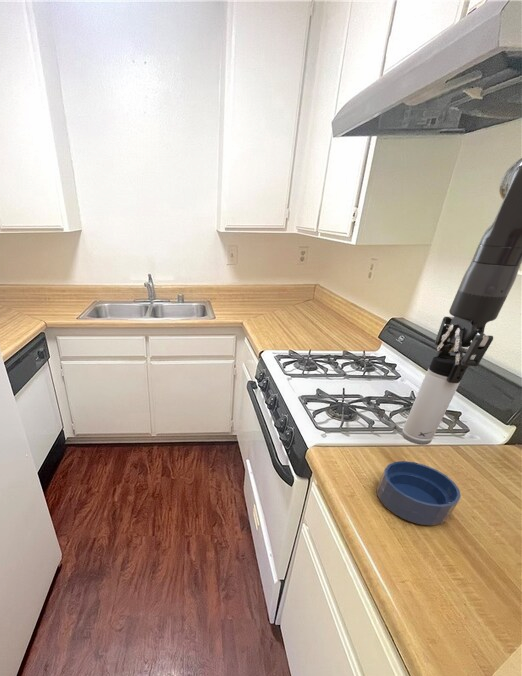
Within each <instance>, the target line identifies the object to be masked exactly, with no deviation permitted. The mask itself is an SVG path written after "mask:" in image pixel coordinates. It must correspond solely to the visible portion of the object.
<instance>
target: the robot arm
mask: <svg viewBox="0 0 522 676" xmlns="http://www.w3.org/2000/svg"><path fill="white" fill-rule="evenodd" d="M498 189H499V190H498V192H499V195H500V197H501V199H502V202H501V205H500V207H499V209H498V211H497V214H496V216H495V217H494V220H493V222H492V224H490V225H489V226H488V227H487V228H486V229H485V231H484V232H483V235H482V236H481V238H480V241H479V242H478V244H477V247H476V250H475V252H474V254H473V257H472V259H471V262H470V264H469V266H468V267H467V268H466V271H465V273H464V275H463V277H462V279H461V281H460V284H459V287H458V289H457V291H456V294H455V296H454V299H453V301H452V303H451V306H450V308H449V312H448V313H449V315H450V316H444V317H443V318H442V320H441V323H440V326H439V328H438V332H437V335H436V337H435V341H434V346H437V348H436V352H437V354H436V356H435V357H438V355H452V353H451V352H452V351H453V353H455V356H456V358H455V364H454V365H453V367H452V369H451V371H450V373H449V375H448V378H447V381H448V382H449V383H459V382H460V383H461V381H462V379H463V377H464V375H465V373H466V371H467V369H468V367H478V366H479V364H480V363H481V361H482V359H483V358H484V356H485V354H486V352H487V350H488V349H489V348H490V345H491V344H492V342H493V341H494V335H486V334H485V329H486V325H487V324H488V323H489V322H493V321H495V320H496V319H497V318H498V316H499V314H500V312H501V310H502V308H503V306H504V304H505V302H506V300H507V298H508V296H509V293H510V292H511V290H512V287H513V285H514V283H515V281H516V279H517V277H518V273H519V271H520V268H521V265H522V157H520V158H519V159H518V160H516V161H514V163H513V164H512V165H510V167H509V168H508V169H507V170H506V171H505V173H504V175H503V176H502V178H501V179H500V183H499V187H498ZM463 354H464V355H463ZM462 357H463V359H462ZM460 383H459V384H460Z"/></svg>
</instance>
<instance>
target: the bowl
mask: <svg viewBox="0 0 522 676" xmlns="http://www.w3.org/2000/svg"><path fill="white" fill-rule="evenodd" d="M376 495H377V497H378V499H379V501H380V502H381V504H382V505H383V506H384V507H385V509H387V510H388V511H390V512H391V513H392V514H394V515H395V516H397V517H399V518H401V519H403V520H405V521H407V522H411V523H414V524H416V525H423V526H438V525H442V524H443V523H445V522H447V521H448V520H449V518H450V516H451V515H452V513H453V511H454V510H455V508H456V506H457V505H458V503H459V501H460V499H461V497H462V495H461V490H460V488H459V487H458V485H457V484H456V482H455V481H453V480H452V478H449V476H448V475H446V474H445V473H443V472H441V471H439V470H437V469H435V468H434V467H431V466H428V465H426V464H422V463H419V462H415V461H408V460H401V461H400V460H399V461H394V462H392V463H388V464H387V466H386V467H385V468H384V470H383V471H382V475H381V476H380V479H379V482H378V484H377V487H376Z"/></svg>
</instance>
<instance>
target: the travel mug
mask: <svg viewBox="0 0 522 676" xmlns="http://www.w3.org/2000/svg"><path fill="white" fill-rule="evenodd" d="M463 357H464V356H462V359H463ZM455 358H456V355H453V354H450V355H438V357H436V356H434V357H432V359H431V362H430V364H429V367H428V368H427V371H426V373H425V376H424V378H423V380H422V382H421V385H420V387H419V390H418V392H417V394H416V396H415V399H414V402H413V404H412V406H411V408H410V410H409V412H408V416H407V418H406V420H405V423H404V425H403V428H402V430H401V433H400V435H401V437H402V438H403V439H404V440H406V441H407V442H409V443H412V444H414V445H420V446H425V445H426V446H427V445H429V444H431V442H432V440H433V439H434V437H435V435H436V432H437V431H438V428H439V426H440V424H441V422H442V420H443V418H444V416H445V414H446V411H447V410H448V408H449V407H450V404H451V402H452V400H453V397H454V396H455V393H456V392H457V389H458V387H459V385H460V383H461V381H460V382H459V383H449V382H448V381H447V378H448V375H449V373H450V371H451V369H452V367H453V365H454V364H455Z"/></svg>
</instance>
